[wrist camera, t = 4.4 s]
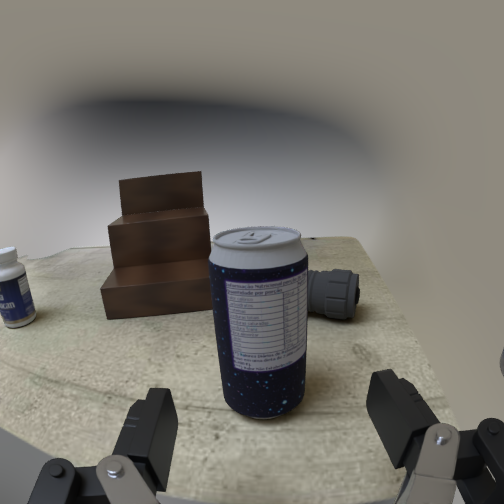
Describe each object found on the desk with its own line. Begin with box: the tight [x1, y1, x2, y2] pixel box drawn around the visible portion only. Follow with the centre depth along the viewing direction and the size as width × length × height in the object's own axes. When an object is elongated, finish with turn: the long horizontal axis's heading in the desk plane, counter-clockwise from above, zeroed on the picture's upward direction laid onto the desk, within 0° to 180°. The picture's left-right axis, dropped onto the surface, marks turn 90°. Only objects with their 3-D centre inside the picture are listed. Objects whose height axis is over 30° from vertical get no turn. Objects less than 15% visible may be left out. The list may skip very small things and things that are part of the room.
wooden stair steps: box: [100, 171, 213, 319], centre depth 42 cm, size 14×19×16 cm
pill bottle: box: [0, 247, 36, 328], centre depth 31 cm, size 5×5×10 cm
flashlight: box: [308, 269, 360, 320], centre depth 34 cm, size 15×5×5 cm, turn 65°
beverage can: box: [208, 226, 308, 419], centre depth 19 cm, size 6×6×12 cm
